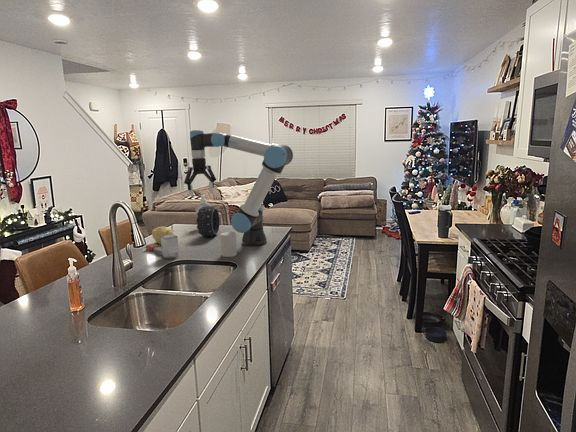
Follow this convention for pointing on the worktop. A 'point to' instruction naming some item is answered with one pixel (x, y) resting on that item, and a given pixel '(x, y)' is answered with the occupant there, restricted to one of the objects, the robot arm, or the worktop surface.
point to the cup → (228, 244)
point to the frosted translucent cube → (169, 244)
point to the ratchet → (160, 251)
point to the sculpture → (160, 233)
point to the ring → (208, 221)
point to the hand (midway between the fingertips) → (201, 194)
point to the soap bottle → (202, 204)
